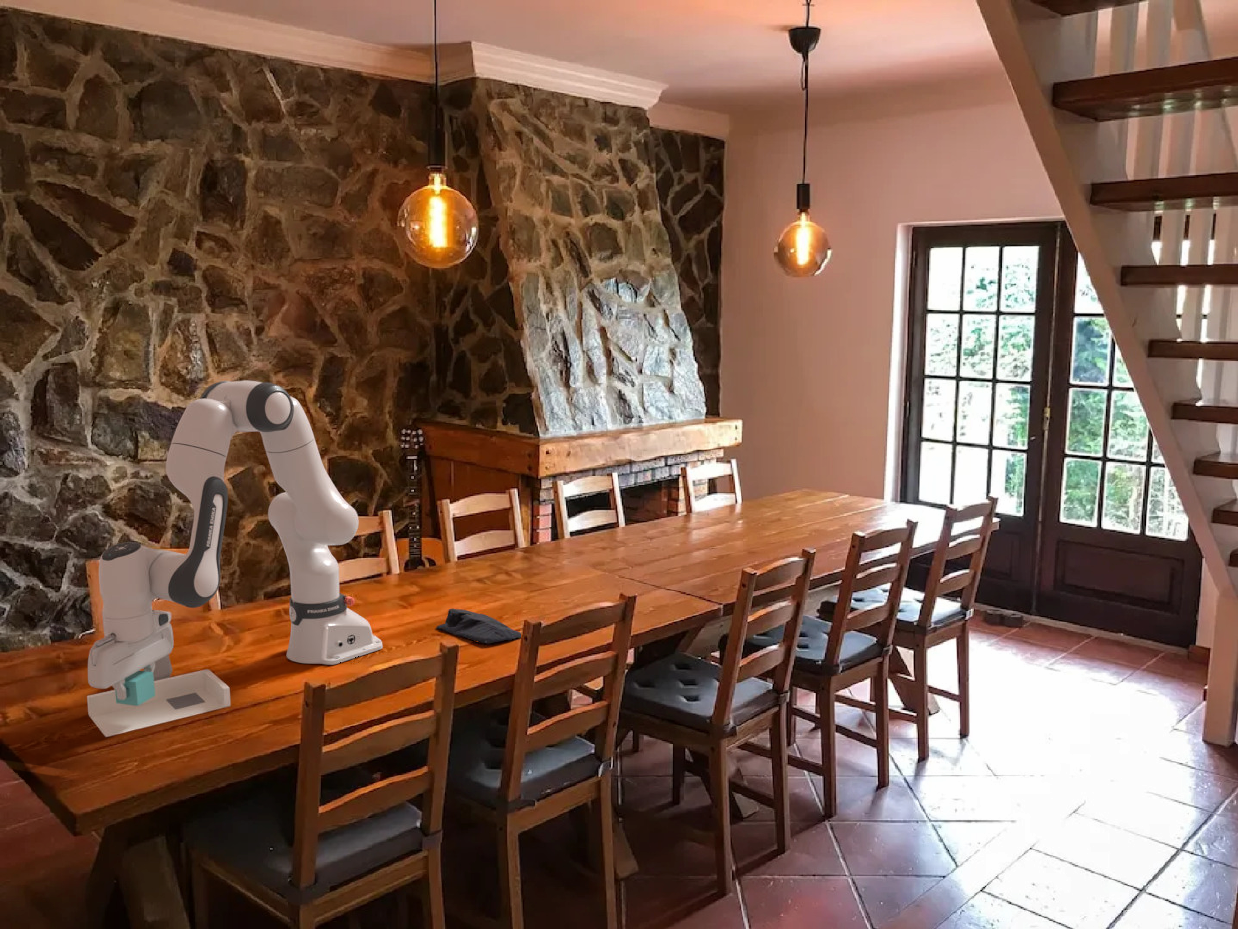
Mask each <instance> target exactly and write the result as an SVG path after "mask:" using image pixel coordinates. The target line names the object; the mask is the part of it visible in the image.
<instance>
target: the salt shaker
mask: <svg viewBox="0 0 1238 929" xmlns="http://www.w3.org/2000/svg"><path fill="white" fill-rule="evenodd" d="M172 672H173V667H172V663H171V660H170V654H168V655H166V656H164V657H163V658H161V659H159V660H157V661H155V669H154V672H153V676H154V681H157V680H161V679H166V678H170V677H171V676H172Z"/></svg>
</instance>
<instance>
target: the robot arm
mask: <svg viewBox="0 0 1238 929" xmlns="http://www.w3.org/2000/svg"><path fill="white" fill-rule="evenodd" d="M237 432H240V433H241V432H242V433H249V432H250V433H251V432H258V433H260V435H261V439H262V443H263V447H264V450H265V454H266V456H267V459H268V463H269V466H270V469H271V472H272V476H273V478H274V480H275V482H276V483H277V485H278V486H279V487H281V488H282V490H284V491H285V492H281V493H279V494H277V495H276V496H275V497H274V498H273V499H272V500H271V502H270V505H269V507H268V510H267V516H268V521H269V523H270V525H271V527H273V528H274V530H275V531H276V532H277V534H278V537H279V538H280V541H281V543H282V547H283V549H284V553H285V555H286V558H287V562H288V567H289V578H290V595H291V596H290V598H289V618H290V619H289V620H290V622H291V625H290V627H291V628H290V636H289V642H288V647H287V651H286V658H287V659H288V660H290V661H292V662H295V663H298V664H318V665H319V664H322V665H330V666H333V665H337V664H340V662H341V663H343V662H346V661H349V660H352V659H355V657H356V658H359V657H362V656H364V655H367V654H371V653H373V652H376V651H379V650H382V649H383V647H384V646H383V641H382V640H381V639H380V638H379V637H377V636H376V635H375V634H373V631H372V630H373V629H372V627H371V625H370V622H369V621H368V620H367V619H366V618H364V617H363V616H361V615H360V614H358V613H357V612H355V611H354V610H352V609H350V608H348V607H352V606H354V604H355V603H356V600H355V598H354V597H352V596H347V595H345V594H342V593H340V572H339V571H340V568H339V563H338V561H337V559H336V558H335V557H334V556H333V554H332V553H331V550H330V549H329V547H328V546H340V545H341V546H342V545H345V544H347V543H349V542H350V541H352V539H354V537H355V536H356V534H357V531H358V528H359V515H358V512H357V510H356V509H355V508H354V507H353V506H351V504H349V503H348V502H347V501H346V500H345V499H344V498H343V496H342V494H341V493H340V492H339V491H338V488H337V487H336V486H335V483H333V481H332V478H330V476H329V474H328V471H327V470H326V469H325V466H324V464H323V461H322V458H321V455H320V451H319V449H318V445H317V442H316V439H315V435H314V432H313V430H312V427H311V424H310V421H309V419H308V416H307V415H306V413H305V410H304V409H303V406H302V405H301V403H300V402H299V400H298V399H296V398H295V397H293V396H291V395H290V394H289V393H288V392H287V390H286V389H285V388H283V387H282V386H280V385H278V384H275V383H272V382H268V381H267V382H266V381H265V382H261V381H258V380H257V381H256V380H234V381H227V380H222V381H219V382H215V383H212V384H210V385H208V386H207V387H206V389H205V390H204V391H203V392H202V394H201V396H200V398H199V399H194V400H193V401H190V403H188V405H187V406H186V408H185V410H184V411H183V414H182V416H181V418H180V420H179V421H178V424H177V426H176V428H175V431H174V434H173V436H172V439H171V442H170V446H169V449H168V452H167V457H166V461H165V462H166V464H165V473H166V476H167V478H168V480H169V482H171V484H172V485H173V486H174V488H175V489H177V490H178V491H179V492H180V493H181V494H183V495H184V496H185V497H186V498H187V499H188V500H189V501H190V502H191V505H192V508H193V511H194V512H193V513H194V515H193V516H194V517H193V522H192V530H191V534H190V535H191V536H190V541H189V542H190V543H189V549H188V551H187V552H186V553H181V552H177V551H172V550H167V549H159V548H158V549H157V548H151V547H148V546H144V545H143V544H141V543H139V542H136V541H125V542H122V543H121V542H119V543H116V544H114V545H111V546H109V547H108V548H106V549H105V550H104V551H103V552H102V554H101V556H100V558H99V564H98V584H99V585H98V586H99V592H100V596H101V598H102V602H103V603H102V604H103V606H102V612H101V613H102V614H101V616H102V625H103V636H104V637H103V638H101V639H98V640H95V641H94V643H93V645H92V647H91V648H90V649H89V654H88V659H87V682H88V684H89V686H90V687H92V688H95V689H102V690H103V689H105V690H106V689H108V688H110V687H112V688H113V690H116V691H117V698H118V699H121V700H124V699H126V698H128V697H129V696H130V694H129V692H130V691H129V689H128V688H125V687H124V685H123V684H124V683H125V678H126V677H128V676H130V675H132V674H133V673H135V672H137V671H147V672H154V669H155V661H157V660H159V659H161V658H163V657H164V656H166V655H170V654H171V653H172V651H173V648H174V645H175V644H174V631H173V627H172V625H171V622H172V621H171V620H172V613H171V612H170V611H164V610H157V609H153V606H152V602H153V601H154V600H157V599H161V600H166V601H168V602H169V601H170V602H172V603H173V602H174V603H176V604H178V605H181V606H183V607H186V608H191V609H194V608H199V607H202V606H204V605H205V604H207V603H208V602H210V600H211V599H213V597H214V596H215V595H216V593H217V592H218V590H219V588H220V585H221V554H222V545H223V539H224V538H223V537H224V532H225V524H226V518H227V511H228V510H227V509H228V503H229V502H228V501H229V492H228V490H229V489H228V487H227V484H226V483H225V466H226V461H227V458H228V453H229V449H230V444H231V440H232V438H233V436H235V434H236V433H237ZM347 606H348V607H347ZM358 656H359V657H358ZM142 669H143V670H142Z"/></svg>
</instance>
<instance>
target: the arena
mask: <svg viewBox="0 0 1238 929" xmlns="http://www.w3.org/2000/svg"><path fill="white" fill-rule="evenodd" d="M154 687H155V696H154V697H152V698H150V699H149V700H147V701H145V702H144V703H142V704H140V705H139V706H135V705H127V704H119V703H116V694H115V689H113V690H112V689H111V690H108V691H103V692H99V693H95V694H91V695H90V694H89V695H87V696H86V698H87V700H86V701H87V712H88V716H89V718H90V719H91V720H92V721H93V723H94V724H95V725H96V727H98V729H99V731H100V732H101V733H102V734H103V736H104V737H105V738H107V737H112V736H115V735H119V734H123V733H128V732H131V731H135V730H140V729H144V728H148V727H151V726H156V725H160V724H164V723H168V722H172V721H176V720H180V719H183V718H188V717H192V716H196V715H200V714H204V713H208V712H212V711H215V710H220V709H223V708H229V707H231V692H230V691H231V690H230V689H231V688H230V687H229V686H228V684H226V683H225V682H224V681H223V680H221V679H220V678H219V677H218V676H217V675H216V674H214V673H213V672H212V671H211V670H210V669H203V670H197V671H193V672H188V673H184V674H180V675H179V674H178V675H175V676H170V678H166V679H161V680H157V681H154Z"/></svg>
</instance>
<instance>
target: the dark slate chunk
mask: <svg viewBox="0 0 1238 929" xmlns="http://www.w3.org/2000/svg"><path fill="white" fill-rule="evenodd" d="M447 611H448V612H447V616H446V619H445V623H443V624H439V625H436V629H438V630H440V631H441V629H442V631H444V632H446V633H448V632H449V633H448V634H450V633H452V634H451V635H453V634H455V635H454V636H456V635H457V636H456V637H461V636H462V637H461V638H464V637H465V638H464V639H466V638H469V639H472V640H475V641H478V642H477V643H479V642H482V643H481V644H484V643H486V644H485V645H490V644H493V643H494V644H495V643H500V642H505V641H504V640H508V641H513V640H512V639H514V640H516V639H515V638H520V639H522V638H521V633H522V632H520V631H517V630H514V629H512V628H510V627H509V626H508V625H506V624H504V623H502V622H501V621H499V620H497V619H495V618H493V617H491V616H489V615H486V614H483V613H478V612H473V611H472V610H471V611H470V610H467V609H457V608H450V609H448V610H447ZM469 639H468V640H469ZM472 640H471V641H472ZM475 641H474V642H475Z"/></svg>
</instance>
